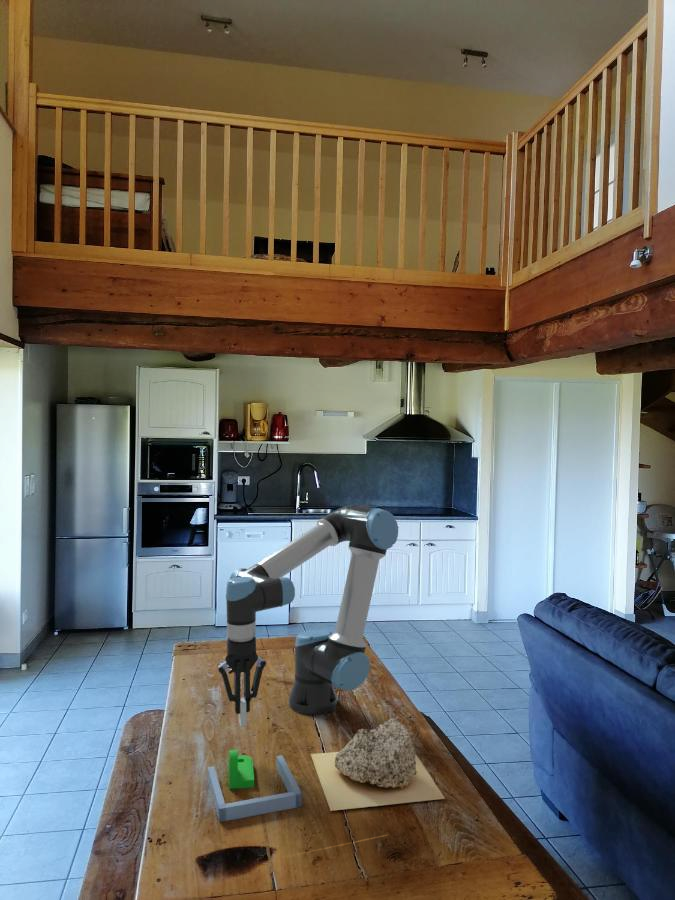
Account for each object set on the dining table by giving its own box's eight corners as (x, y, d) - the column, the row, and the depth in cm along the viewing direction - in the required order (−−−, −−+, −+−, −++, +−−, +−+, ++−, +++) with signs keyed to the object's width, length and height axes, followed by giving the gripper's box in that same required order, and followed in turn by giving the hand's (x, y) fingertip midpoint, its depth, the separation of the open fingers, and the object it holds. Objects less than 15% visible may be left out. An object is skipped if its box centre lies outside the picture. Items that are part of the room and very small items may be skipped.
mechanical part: (254, 787, 153) (254, 755, 153) (228, 789, 152) (229, 757, 152) (251, 762, 165) (252, 731, 164) (228, 763, 164) (229, 733, 163)
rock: (409, 743, 173) (423, 707, 165) (433, 825, 156) (449, 789, 147) (310, 751, 167) (318, 714, 158) (322, 837, 149) (333, 801, 141)
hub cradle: (282, 766, 162) (282, 755, 162) (301, 806, 145) (302, 793, 145) (207, 779, 156) (207, 767, 156) (219, 822, 139) (219, 808, 139)
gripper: (262, 629, 171) (263, 713, 173) (214, 635, 167) (215, 722, 168) (269, 638, 164) (270, 726, 166) (218, 644, 160) (220, 735, 161)
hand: (242, 724), depth 167 cm, fingers closed
